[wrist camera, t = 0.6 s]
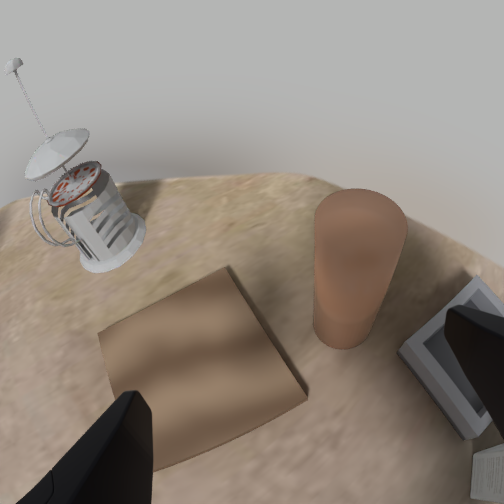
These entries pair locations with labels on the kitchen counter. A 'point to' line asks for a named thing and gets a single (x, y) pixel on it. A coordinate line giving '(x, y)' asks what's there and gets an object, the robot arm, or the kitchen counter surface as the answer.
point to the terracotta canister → (354, 263)
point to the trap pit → (451, 363)
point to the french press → (83, 200)
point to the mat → (199, 369)
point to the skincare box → (488, 475)
